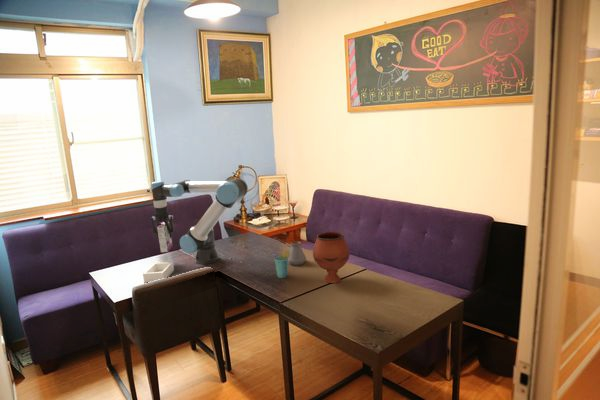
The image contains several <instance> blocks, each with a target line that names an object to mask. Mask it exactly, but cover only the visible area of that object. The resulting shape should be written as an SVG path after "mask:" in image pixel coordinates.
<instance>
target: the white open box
mask: <svg viewBox="0 0 600 400" xmlns="http://www.w3.org/2000/svg"><path fill="white" fill-rule="evenodd" d="M174 272H175V266H174V261H167V262H166V261H165V262H154V263H152V265H150V267H148V268H147V269H146V270H145V271H144V272H143V273H142V276H143V283H144V284H148V283H147V282H150V281H154V280H158V279H162V278H166V277H168V278H170V276H171V275H172V274H173V273H174Z"/></svg>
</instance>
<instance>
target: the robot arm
mask: <svg viewBox="0 0 600 400" xmlns="http://www.w3.org/2000/svg"><path fill="white" fill-rule="evenodd" d="M150 188H151V195H152V200H153V201H152V202H153V207H154V214H155V215H154V216H152V217H150V220H151V224H152V231H153V232H152V233H153V234H156V238H157V239H158V240H159V237H158V231H157V227H158V226H159V225H160V224H161V223H163V222H164V223H165V224H166V225H167V229H168V231H169V233H168V238H169V243H171V242H172V243H173V239H172V240H171V238H173V232H175V223H174V217H175V216H174V215H173V214H172V215H170V214H169V210H168V209H169V208H168V203H167V198H180V197H182V196H183V195H184V194H215V195H214V198H215V200H213V202H212V204H211V205H210V206H209V207H208V208H207V210H206V211H205V212H204V214H203V216H202V217H201V218H200V219H199V221H198V222H197V224H196V225H194V226H191V227H190V229H189V230H188V231H187V233H186V234H183V235H182V236H181V237H180V239H179V246H180V249H181V250H182V251H183V252H184V253H186V254H194V253H195V257H194V262H195V263H197V264H199V265H200V264H201V265H202V264H203V265H206V264H211V263H212V264H213V263H215V262H218V261H219V259H220V255H219V253H218V252H219V251H218V250H217V248H216V242H215V241H216V240H215V233H214V227H215V225H216V224H217V223H218V221H219V220H220V219H221V218H222V216H223V215H224V214H225V213H226V211H227V210H228V209H231V208H232V207H233V206H234V205H235V204H236V203H237V202H238V200H240V199H242V198H244V197H245V196H246V195H247V193H248V190H249V188H248V184H247V182H246V181H245V180H243V179H242V178H234V179H233V178H231V179H230V178H229V179H227V180H189V179H186V180H183V181H178V182H175V183H173V184H172V183H171V184H165V182H164V181H163V180H158V181H157V180H156V181H152V182H151V187H150ZM168 219H169V220H168ZM156 221H157V222H156ZM169 224H170V225H169Z"/></svg>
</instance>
